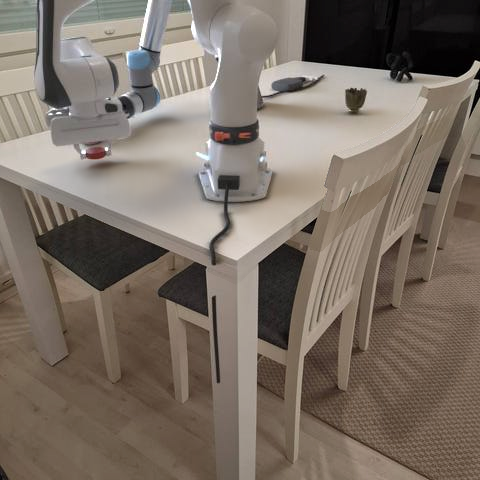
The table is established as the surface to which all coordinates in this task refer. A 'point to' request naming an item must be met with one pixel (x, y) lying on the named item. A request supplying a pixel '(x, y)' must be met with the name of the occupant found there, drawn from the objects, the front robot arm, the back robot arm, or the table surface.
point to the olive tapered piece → (355, 99)
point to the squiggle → (399, 66)
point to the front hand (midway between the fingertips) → (96, 156)
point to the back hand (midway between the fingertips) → (75, 127)
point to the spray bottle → (291, 83)
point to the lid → (95, 153)
